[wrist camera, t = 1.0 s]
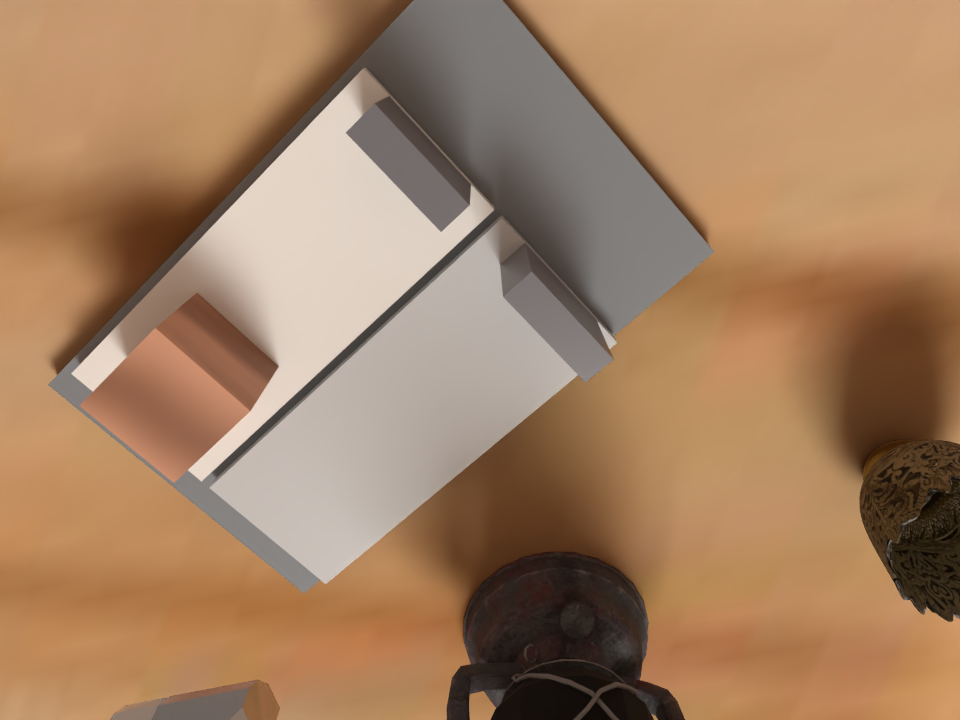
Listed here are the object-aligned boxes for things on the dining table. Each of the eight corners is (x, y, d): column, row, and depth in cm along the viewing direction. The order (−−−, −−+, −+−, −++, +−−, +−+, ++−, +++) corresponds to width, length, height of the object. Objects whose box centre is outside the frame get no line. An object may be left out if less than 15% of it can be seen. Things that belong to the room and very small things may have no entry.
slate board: (461, -47, 33) (460, -50, 32) (708, 246, 38) (714, 251, 37) (58, 377, 40) (47, 384, 39) (307, 582, 44) (304, 593, 43)
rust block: (197, 292, 36) (155, 327, 32) (278, 366, 38) (250, 411, 33) (128, 361, 37) (79, 405, 33) (210, 431, 39) (173, 483, 34)
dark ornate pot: (832, 401, 40) (912, 480, 33) (977, 399, 40) (1090, 478, 33) (812, 526, 43) (882, 626, 36) (948, 524, 43) (1046, 623, 36)
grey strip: (501, 214, 36) (505, 243, 30) (614, 336, 38) (637, 384, 32) (214, 479, 41) (173, 545, 35) (328, 574, 43) (306, 650, 37)
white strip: (365, 67, 33) (344, 70, 28) (494, 206, 36) (496, 234, 30) (79, 367, 38) (13, 419, 33) (206, 473, 41) (164, 538, 35)
